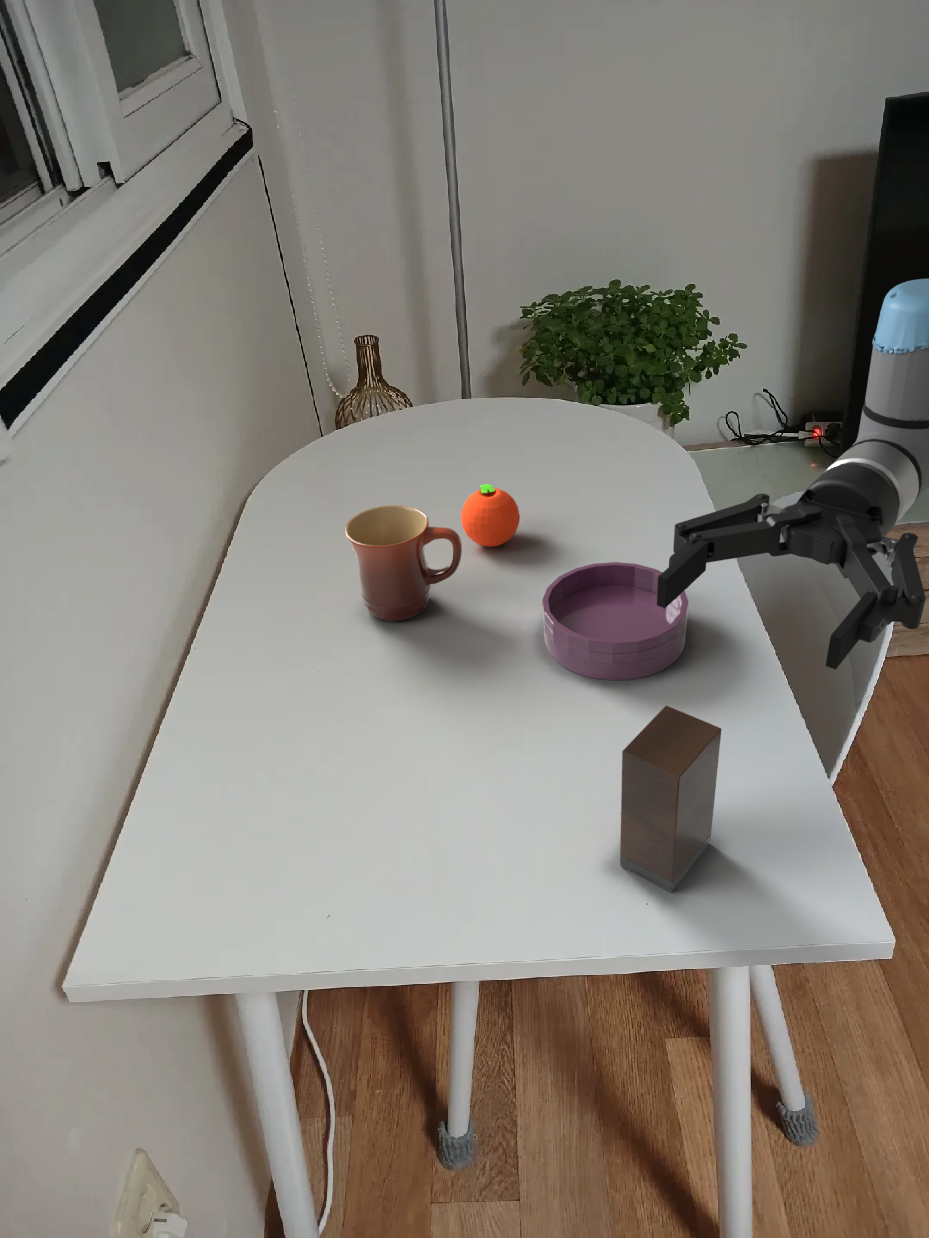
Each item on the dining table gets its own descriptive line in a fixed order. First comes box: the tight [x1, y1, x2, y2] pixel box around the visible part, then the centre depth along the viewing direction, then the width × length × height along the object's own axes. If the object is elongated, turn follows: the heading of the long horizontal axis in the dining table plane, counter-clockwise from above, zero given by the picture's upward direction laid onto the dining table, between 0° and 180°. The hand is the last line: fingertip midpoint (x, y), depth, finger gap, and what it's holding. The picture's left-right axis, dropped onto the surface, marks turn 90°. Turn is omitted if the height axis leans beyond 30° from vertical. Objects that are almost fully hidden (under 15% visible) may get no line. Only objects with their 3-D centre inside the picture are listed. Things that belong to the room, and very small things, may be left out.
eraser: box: [619, 705, 722, 894], centre depth 70 cm, size 4×6×12 cm
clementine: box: [460, 483, 521, 548], centre depth 113 cm, size 8×7×7 cm
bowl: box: [541, 561, 690, 681], centre depth 96 cm, size 14×14×4 cm
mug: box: [344, 504, 463, 622], centre depth 102 cm, size 12×9×10 cm
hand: (742, 621), depth 70 cm, fingers open, 13 cm apart
